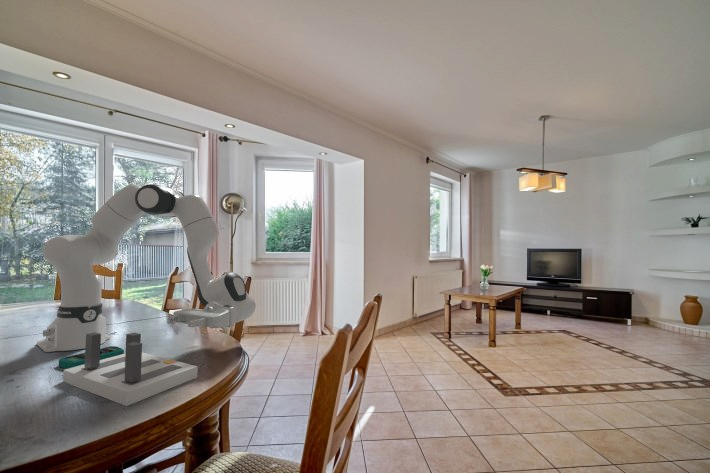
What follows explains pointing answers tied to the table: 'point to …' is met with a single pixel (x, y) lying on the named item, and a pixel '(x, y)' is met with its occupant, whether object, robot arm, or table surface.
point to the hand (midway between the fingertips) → (178, 322)
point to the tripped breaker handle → (133, 338)
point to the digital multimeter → (80, 358)
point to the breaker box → (114, 387)
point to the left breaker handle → (92, 350)
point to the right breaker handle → (133, 361)
